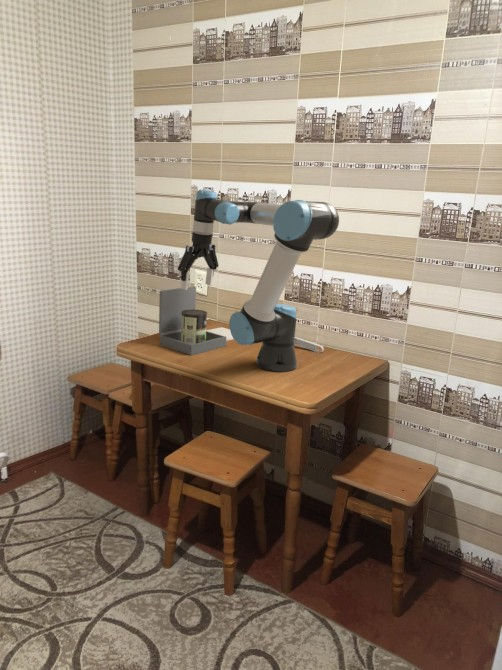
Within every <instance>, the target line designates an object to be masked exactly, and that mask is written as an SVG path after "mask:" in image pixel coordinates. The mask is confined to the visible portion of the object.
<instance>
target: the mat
mask: <svg viewBox="0 0 502 670" xmlns="http://www.w3.org/2000/svg"><path fill="white" fill-rule="evenodd" d="M206 331H208V332H211V333H215V334H219V335H222V336H226V342H228V341H231V340H234V338H233V337H232V335H231V331H230V328H225V327H223V326H221V327H216V328H211V329H206Z"/></svg>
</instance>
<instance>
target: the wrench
mask: <svg viewBox="0 0 502 670" xmlns="http://www.w3.org/2000/svg"><path fill="white" fill-rule="evenodd" d="M294 346H297V347H300V348H303V349H307V350H309V351H312V352H315V353H318V354H321V353H323V352H324V350H325V349H324V346H323V345H320V344H318V343H315V342H311V341H309V340H306V339H303V338H300V337H296V336H295V338H294ZM318 348H320V349H321V350H320V351H319V349H318Z"/></svg>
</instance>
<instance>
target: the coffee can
mask: <svg viewBox="0 0 502 670" xmlns="http://www.w3.org/2000/svg"><path fill="white" fill-rule="evenodd" d="M181 314H182V326H181V341H182V342H185V343H188V344H191V345H192V344H196V343H200V342H204V341H206V330H207V322H208V321H207V318H208V317H207V316H208V312H207V311H206V310H201V309H195V310H194V309H191V310H184V311H182V312H181Z"/></svg>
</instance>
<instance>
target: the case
mask: <svg viewBox="0 0 502 670" xmlns="http://www.w3.org/2000/svg"><path fill="white" fill-rule="evenodd" d="M196 296H197V287H196V286H194V285H193V286H188V288H187V290H185V289H182V288H181V287H178V288H177V287H176V288H169V289H164V290H159V300H158V301H159V303H158V304H159V308H158V310H159V311H158V312H159V313H158V314H159V315H158V335H159V346H162V347H164V348H168V349H171V350H174V351H177V352H180V353H182V354H186V355H190V356H194V355H197V354H201V353H205V352H209V351H213V350H217V349H220V348H224V347H227V341H226V336H222V335H219V334H215V333H211V332H208V331H206V341H204V342H200V343H196V344H192V345H191V344H188V343H185V342H182V341H181V326H182V314H181V312H182V311H184V310H191V309H194V310H196V303H197V302H196Z"/></svg>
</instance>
